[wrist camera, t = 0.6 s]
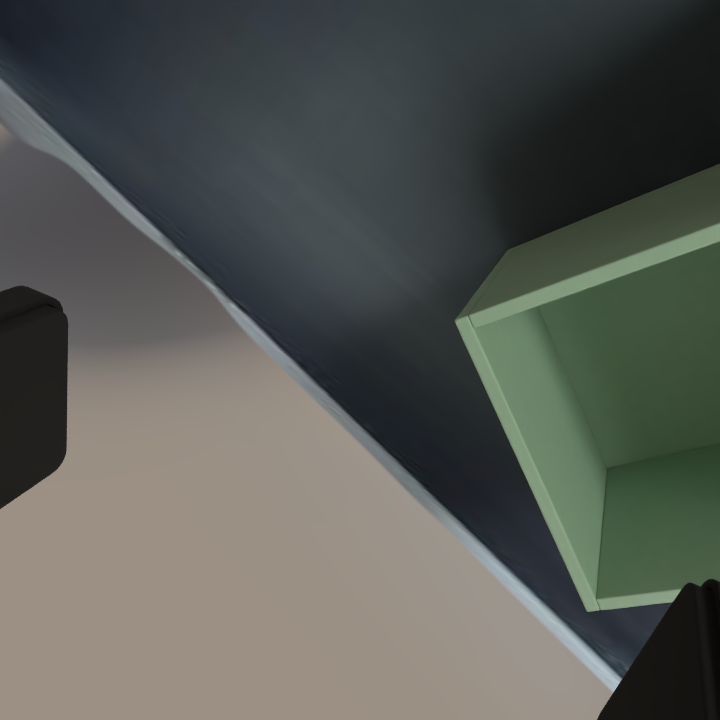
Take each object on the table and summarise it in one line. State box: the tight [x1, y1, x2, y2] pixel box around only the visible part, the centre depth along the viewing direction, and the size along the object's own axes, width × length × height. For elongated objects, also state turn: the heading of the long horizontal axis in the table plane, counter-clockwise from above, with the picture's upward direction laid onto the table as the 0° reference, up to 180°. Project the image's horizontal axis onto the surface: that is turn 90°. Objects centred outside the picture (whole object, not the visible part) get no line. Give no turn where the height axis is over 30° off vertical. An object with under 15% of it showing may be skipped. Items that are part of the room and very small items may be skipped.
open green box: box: [455, 164, 720, 612], centre depth 29 cm, size 14×14×12 cm
